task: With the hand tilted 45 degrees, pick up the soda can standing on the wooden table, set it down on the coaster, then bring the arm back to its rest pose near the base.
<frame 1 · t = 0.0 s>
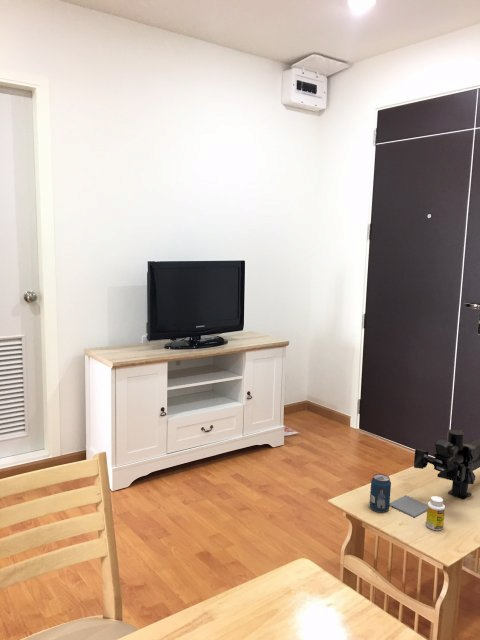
hand: (425, 470, 186), 17 cm above the table, tool horizontal, fingers open, 9 cm apart
coaster: (409, 506, 194), on the table
soda can: (379, 508, 193), on the table
supplement bottle: (434, 527, 181), on the table
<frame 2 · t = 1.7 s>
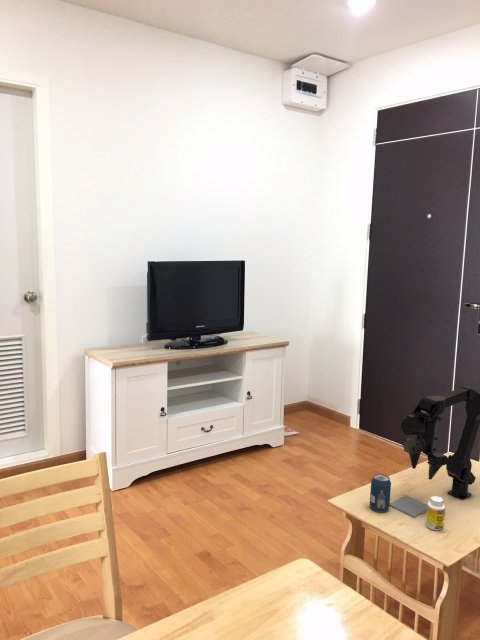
hand: (421, 473, 193), 12 cm above the table, tool pointing down, fingers open, 9 cm apart
nothing on the table moved.
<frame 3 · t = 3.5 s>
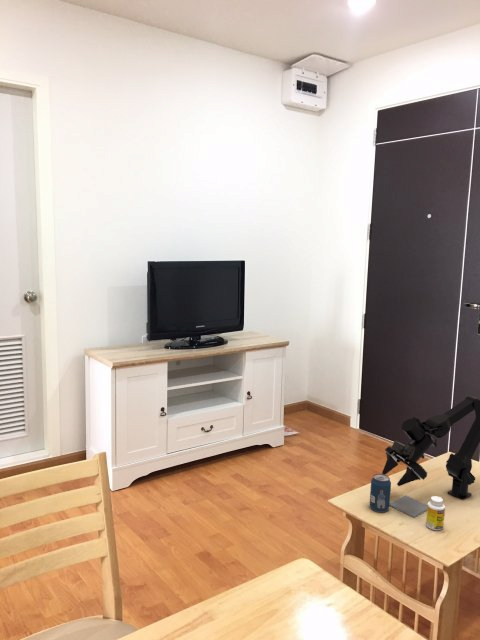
hand: (390, 479, 192), 11 cm above the table, tool tilted 45°, fingers open, 9 cm apart
nothing on the table moved.
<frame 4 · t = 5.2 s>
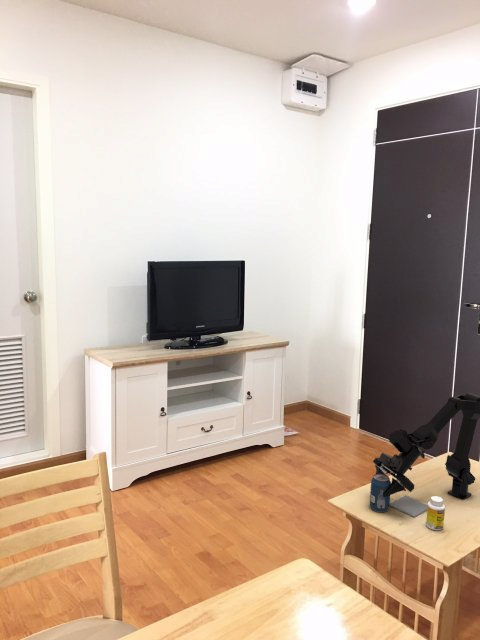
hand: (377, 491, 191), 7 cm above the table, tool tilted 45°, fingers closed on soda can, 7 cm apart
soda can: (379, 508, 193), on the table, touching gripper
everything else where it was.
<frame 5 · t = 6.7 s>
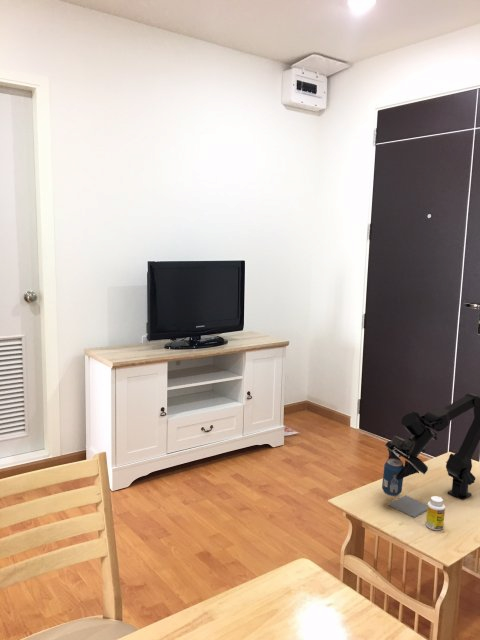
hand: (390, 474, 191), 13 cm above the table, tool tilted 45°, fingers closed on soda can, 7 cm apart
soda can: (391, 492, 193), point 5 cm above the table, touching gripper
everything else where it was.
when the fingers open (8 cm above the table, at t = 8.6 s): soda can stays where it is, resting on coaster.
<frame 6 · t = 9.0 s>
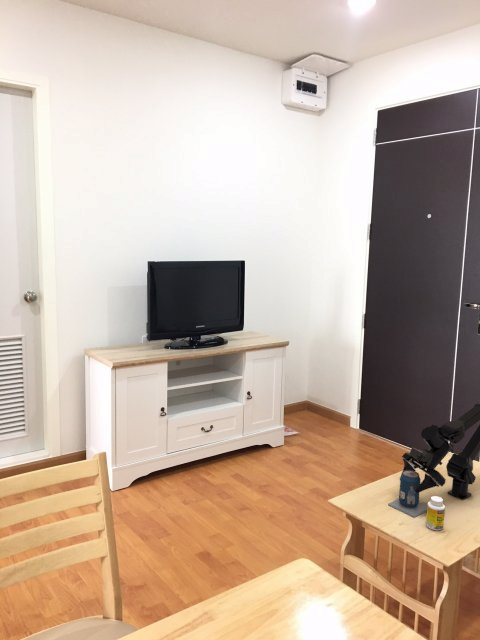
hand: (408, 486, 192), 8 cm above the table, tool tilted 45°, fingers open, 9 cm apart
soda can: (408, 504, 195), resting on coaster
everything else where it was.
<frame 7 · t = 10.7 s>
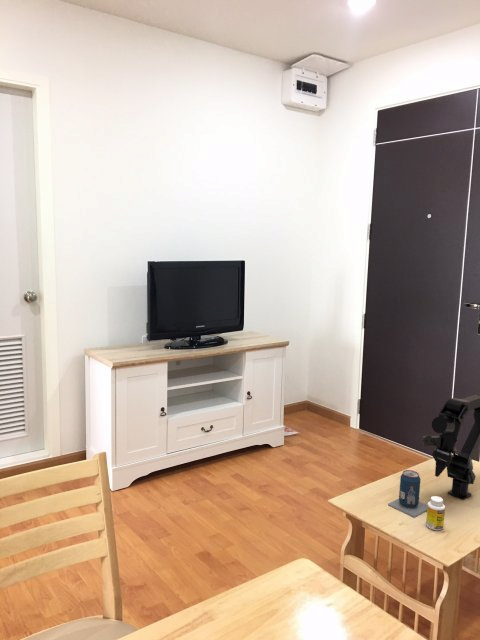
hand: (438, 474, 195), 12 cm above the table, tool tilted 15°, fingers open, 9 cm apart
nothing on the table moved.
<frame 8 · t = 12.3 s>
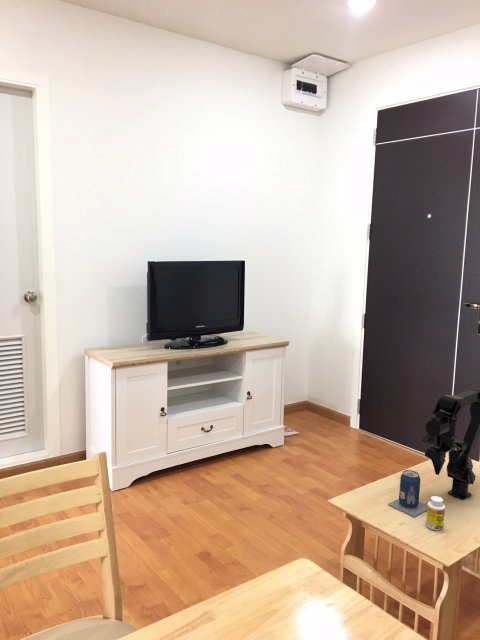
hand: (444, 471, 194), 13 cm above the table, tool pointing down, fingers open, 9 cm apart
nothing on the table moved.
at the end: soda can inside the target area on the coaster (0.7 cm from its centre), point 0.4 cm above the coaster's base; soda can tilted 0°; the gripper is holding nothing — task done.
